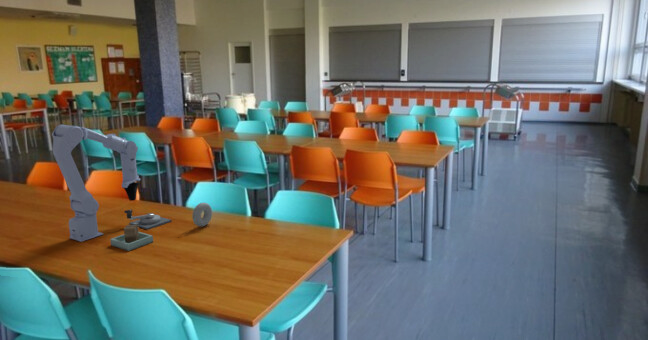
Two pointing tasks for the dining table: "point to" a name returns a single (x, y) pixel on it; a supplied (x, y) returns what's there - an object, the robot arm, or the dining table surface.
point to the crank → (129, 215)
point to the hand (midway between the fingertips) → (132, 200)
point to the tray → (122, 244)
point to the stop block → (131, 233)
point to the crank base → (163, 221)
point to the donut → (197, 214)
